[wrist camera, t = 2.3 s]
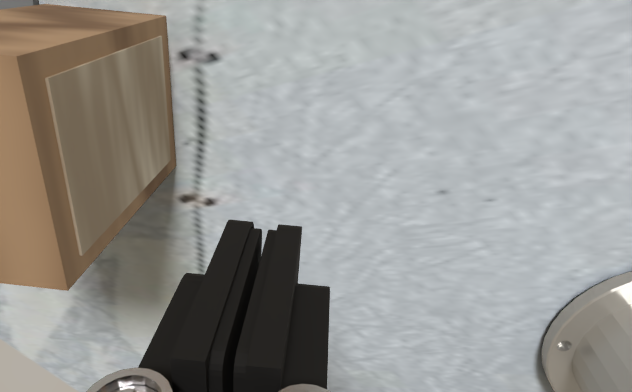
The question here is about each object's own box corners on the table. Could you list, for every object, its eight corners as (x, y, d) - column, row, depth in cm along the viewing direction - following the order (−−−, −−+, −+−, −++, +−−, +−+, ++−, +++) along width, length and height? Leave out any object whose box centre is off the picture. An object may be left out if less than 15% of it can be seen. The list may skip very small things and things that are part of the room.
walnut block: (168, 15, 22) (20, 56, 12) (177, 166, 25) (70, 290, 16) (45, 4, 22) (-201, 34, 12) (72, 154, 26) (-99, 271, 16)
